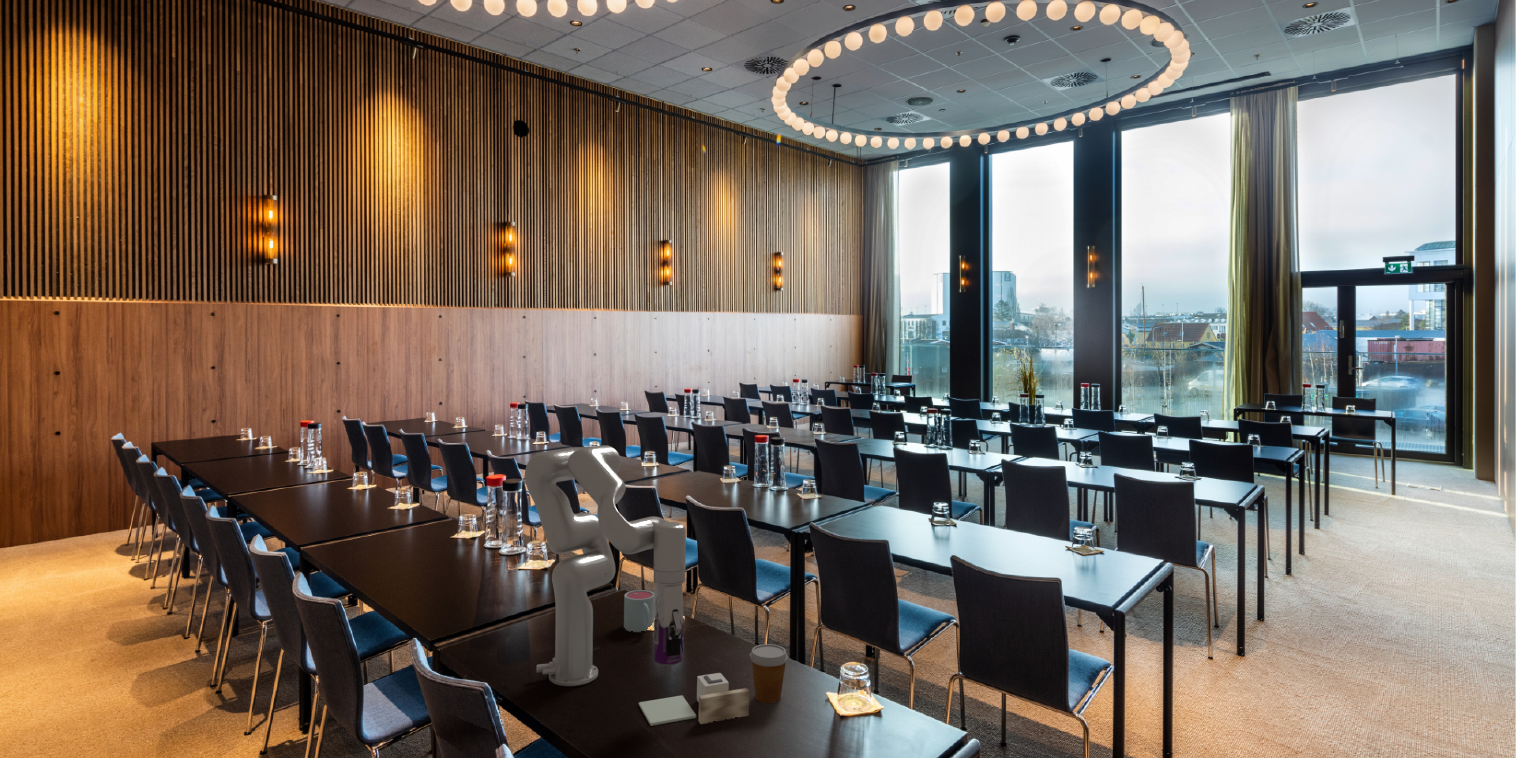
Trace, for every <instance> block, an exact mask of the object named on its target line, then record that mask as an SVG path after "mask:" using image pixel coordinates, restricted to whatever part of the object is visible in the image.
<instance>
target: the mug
mask: <svg viewBox="0 0 1516 758" xmlns="http://www.w3.org/2000/svg"><path fill="white" fill-rule="evenodd" d="M623 597H624V598H623V599H624V601H623V603H624V604H623V606H624V607H623V612H624V613H623V629H624V628H625V629H626V630H625V629H624V630H625V631H627V632H631V631H633V632H632V633H642V632H641V631H645V632H647V631H646V630H647V629H648V627H650V626H651V625H652V623H653V622H654V619H655V618H654V616H653V602H654V591H650V590H643V589H641V590H640V589H639V590H632V591H631V590H630V591H628V592H625V594H624V596H623Z"/></svg>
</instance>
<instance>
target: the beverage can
mask: <svg viewBox="0 0 1516 758" xmlns="http://www.w3.org/2000/svg"><path fill="white" fill-rule="evenodd" d="M656 614H657V612H656ZM658 616H659V615H658V614H657V615H656V617H655V618H654V628H653V632H654V633H653V661H654V662H655V663H656V664H659V665H661V666H666V667H670V666H675V665H677V664H679V663H681V662H682V661H684V658H685V655H684V654H685V618H684V616H683V623H682V625H681V632H680V635H681V638H680V654H679V655H674V656H667V655H666V642H667V639H668V633H667V627H666V628H663V627H661V625H660V622H659V618H658ZM680 623H681V622H680ZM670 625H674V623H673V622H670ZM673 630H674V628H671V633H672V631H673Z"/></svg>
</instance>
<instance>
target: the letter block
mask: <svg viewBox="0 0 1516 758" xmlns="http://www.w3.org/2000/svg"><path fill="white" fill-rule="evenodd" d="M696 678H697V679H696V681H697V683H696V701H697V703H699V696H701V695H707V694H713V693H719V692H725V691H730V690H729V689H730V688H729V686H730V685H729V683H730V682H729V681H728V680H727V679H726V678H725V676H724V675H723V674H722V673H721V672H716V673H709V674H703V675H698V676H697V677H696Z"/></svg>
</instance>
